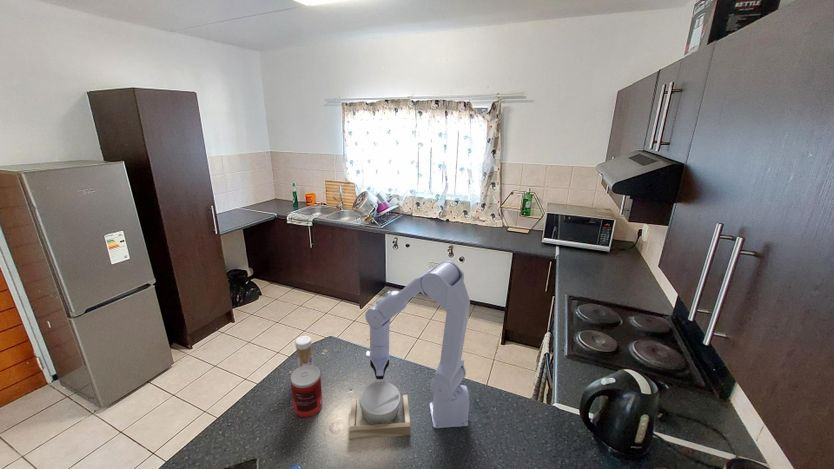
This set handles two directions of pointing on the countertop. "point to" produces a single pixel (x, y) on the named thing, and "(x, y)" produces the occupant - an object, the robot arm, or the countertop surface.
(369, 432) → the birch dock
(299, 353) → the sprinkles bottle
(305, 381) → the canned food
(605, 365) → the countertop surface
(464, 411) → the robot arm
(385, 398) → the ramekin
